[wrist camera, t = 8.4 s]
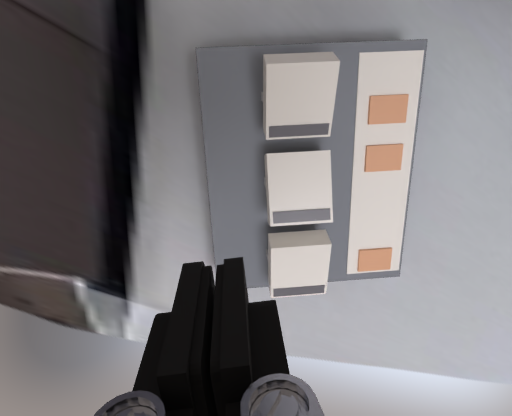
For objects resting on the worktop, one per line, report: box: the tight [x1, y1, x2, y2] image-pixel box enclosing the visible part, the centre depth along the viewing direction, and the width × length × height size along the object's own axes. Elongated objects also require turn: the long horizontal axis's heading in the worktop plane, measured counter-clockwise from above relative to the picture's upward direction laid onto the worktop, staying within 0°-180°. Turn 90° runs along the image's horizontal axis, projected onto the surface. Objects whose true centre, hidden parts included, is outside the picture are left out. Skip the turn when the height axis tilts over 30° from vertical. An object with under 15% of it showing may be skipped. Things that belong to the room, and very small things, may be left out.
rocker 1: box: [263, 52, 340, 140], centre depth 24 cm, size 4×5×2 cm
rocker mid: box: [264, 150, 333, 227], centre depth 26 cm, size 4×5×2 cm
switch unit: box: [196, 39, 428, 288], centre depth 30 cm, size 16×19×5 cm
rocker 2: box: [268, 229, 332, 298], centre depth 28 cm, size 4×5×2 cm
